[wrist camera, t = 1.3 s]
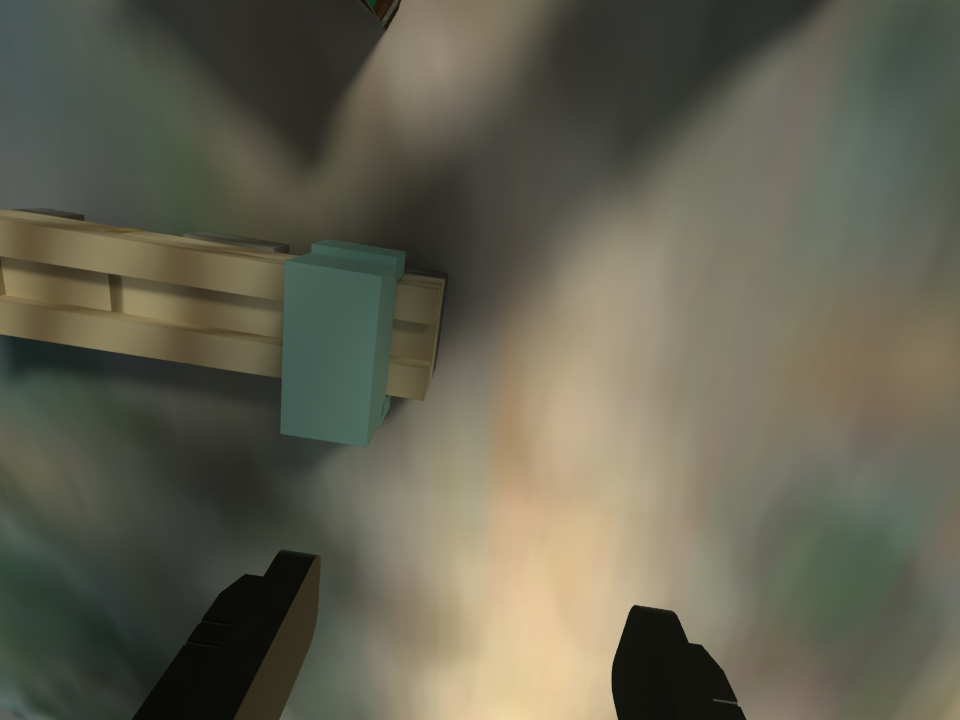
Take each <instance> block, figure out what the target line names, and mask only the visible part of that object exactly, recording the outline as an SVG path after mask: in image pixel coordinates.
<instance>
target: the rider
mask: <svg viewBox="0 0 960 720" xmlns="http://www.w3.org/2000/svg"><path fill="white" fill-rule="evenodd" d="M405 258H406V252H405V251H399V250H393V249H387V248H380V247H374V246H368V245H362V244H356V243H349V242H343V241H337V240H331V239H327V240H323V241H320V242H316V243H312V248H311V253H308V254H304V255H301V256H298V257H295V258H292V259H289V260H285V279H284V316H283V354H282V392H281V429H280V434H285V435H291V436H297V437H304V438H310V439H317V440H323V441H330V442H336V443H342V444H349V445H355V446H362V447H367V445H368V443H369V441H370V439H371V437H372V435H373V433H374V431H375V430H376V428H377V426H380V425H381V424H382V422H383V420H384V418H385V416H386V414H387V412H388V410H389V408H390V401H391V396H390V395H385V394H386V384H387V374H388V364H389V355H390V347H391V337H392V327H393V315H394V305H395V295H396V285H397V280H398V279H400V278H401V277H402V276H403V275H404V267H405Z"/></svg>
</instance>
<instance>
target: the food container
mask: <svg viewBox="0 0 960 720" xmlns="http://www.w3.org/2000/svg"><path fill="white" fill-rule="evenodd" d="M356 1H357V2H358V3H359V4H360V5H361V6H362V7H363V8H364V9H365V10H366V11H367V12H368V13H369V14H370V15H371V16H372V17H373V19H374V20H375V21H376V22H377V23H378V24H379V25H380V26H381V27H382V28H383V29H384V30H385V31H386V29H387V27H388V26H389V24H390V22H391V21H392V19H393V17H394V16H395V14H396V12H397V11H398V9H399V5H400V2H401V0H356Z"/></svg>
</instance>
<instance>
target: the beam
mask: <svg viewBox="0 0 960 720" xmlns="http://www.w3.org/2000/svg"><path fill="white" fill-rule="evenodd" d="M295 257H298V256H296V255H290V254H289V245H288V244H282V243H275V242H269V241H263V240H257V239H251V238H244V237H238V236H232V235H226V234H220V233H213V232H207V231H200V232H193V233H185V234H184V237H178V236H172V235H166V234H160V233H154V232H147V231H145V230H141V229H134V228H123V227H116V226H110V225H104V224H98V223H92V222H85V221H84V215H80V214H74V213H68V212H62V211H56V210H49V209H43V208H38V209H8V210H0V334H2V335H9V336H15V337H21V338H28V339H34V340H40V341H47V342H53V343H60V344H66V345H72V346H79V347H85V348H91V349H98V350H104V351H110V352H117V353H123V354H129V355H136V356H142V357H149V358H155V359H161V360H168V361H174V362H180V363H187V364H193V365H199V366H206V367H212V368H219V369H225V370H231V371H238V372H244V373H250V374H257V375H263V376H269V377H276V378H282V354H283V316H284V279H285V260H289V259H292V258H295ZM447 279H448V274H446V273H440V272H434V271H428V270H421V269H415V268H409V267H408V268H407V269H405V270H404V275H403V276H402V277H401V278H400V279H398V280H397V285H396V295H395V305H394V315H393V327H392V337H391V347H390V355H389V364H388V374H387V384H386V394H385V395H390V396H397V397H403V398H409V399H416V400H422V401H424V399H425V396H426V393H427V390H428V388H429V385H430V382H431V379H432V376H433V374H434V371H435V368H436V361H437V354H438V346H439V339H440V331H441V324H442V316H443V309H444V301H445V294H446V286H447Z"/></svg>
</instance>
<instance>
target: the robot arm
mask: <svg viewBox="0 0 960 720" xmlns="http://www.w3.org/2000/svg"><path fill="white" fill-rule="evenodd" d="M320 568H321V558H320V556H319V555H314V554H307V553H301V552H294V551H288V550H281V551H279V553H278V554H277V555H276V557H275V558H274V560H273V562H272V563H271V565H270V567H269V568H268V570H267V571H266V573H265V575H264V576H263V577H262V576H256V575H249V574H245V575H243V576H242V577H241V578H239V579H238V580H237V581H235V582H234V583H233V584H232V585H230V586H229V587H228V588H226V589H225V590H224V591H222V592H221V593H220V594H219V595H218V597H217V598H216V600H215V601H214V602H213V604H212V605H211V607H210V608H209V610H208V611H207V612H206V614H205V615H204V617H203V618H202V622H201V624H198V625H197V627H196V628H195V630H194V631H193V633H192V634H191V635H190V637H189V638H188V640H187V643H186V645H185V646H184V645H183V647H182V648H181V650H180V651H179V653H178V654H177V656H176V657H175V658H174V660H173V661H172V663H171V664H170V666H169V667H168V668H167V670H166V671H165V673H164V674H163V676H162V677H161V678H160V680H159V681H158V683H157V684H156V686H155V687H154V688H153V690H152V691H151V693H150V694H149V696H148V697H147V699H146V700H145V701H144V703H143V704H142V706H141V707H140V709H139V710H138V711H137V713H136V714H135V716H134V717H133V719H132V720H279V719H280V717H281V715H282V712H283V710H284V707H285V705H286V703H287V700H288V698H289V695H290V693H291V691H292V688H293V686H294V683H295V681H296V679H297V676H298V674H299V671H300V669H301V667H302V664H303V662H304V659H305V657H306V655H307V652H308V650H309V647H310V644H311V641H312V638H313V634H314V630H315V626H316V621H317V613H318V598H319V583H320ZM612 694H613V699H614V704H615V708H616V713H617V717H618V720H746V718H745V716H744V714H743V711H742V709H741V707H738V705H737V699H736V697H735V694H734V692H733V690H732V688H731V686H730V684H729V682H728V680H727V677H726V675H725V673H724V671H723V670H722V669H721V668H720V666H719V665H718V664H717V663H716V662H715V660H714V659H713V658H712V657H711V656H710V655H709V653H708V652H707V651H706V650H705V649H704V647H703V646H702V645H699V644H693V643H689V642H688V640H687V637H686V635H685V633H684V630H683V628H682V625H681V623H680V621H679V619H678V617H677V615H676V614H675V613H674V612H673V611H671V610H664V609H658V608H651V607H645V606H638V605H634V606H633V607H632V608H631V610H630V612H629V615H628V618H627V621H626V624H625V627H624V630H623V633H622V636H621V639H620V642H619V645H618V648H617V651H616V654H615V657H614V661H613V666H612Z"/></svg>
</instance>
